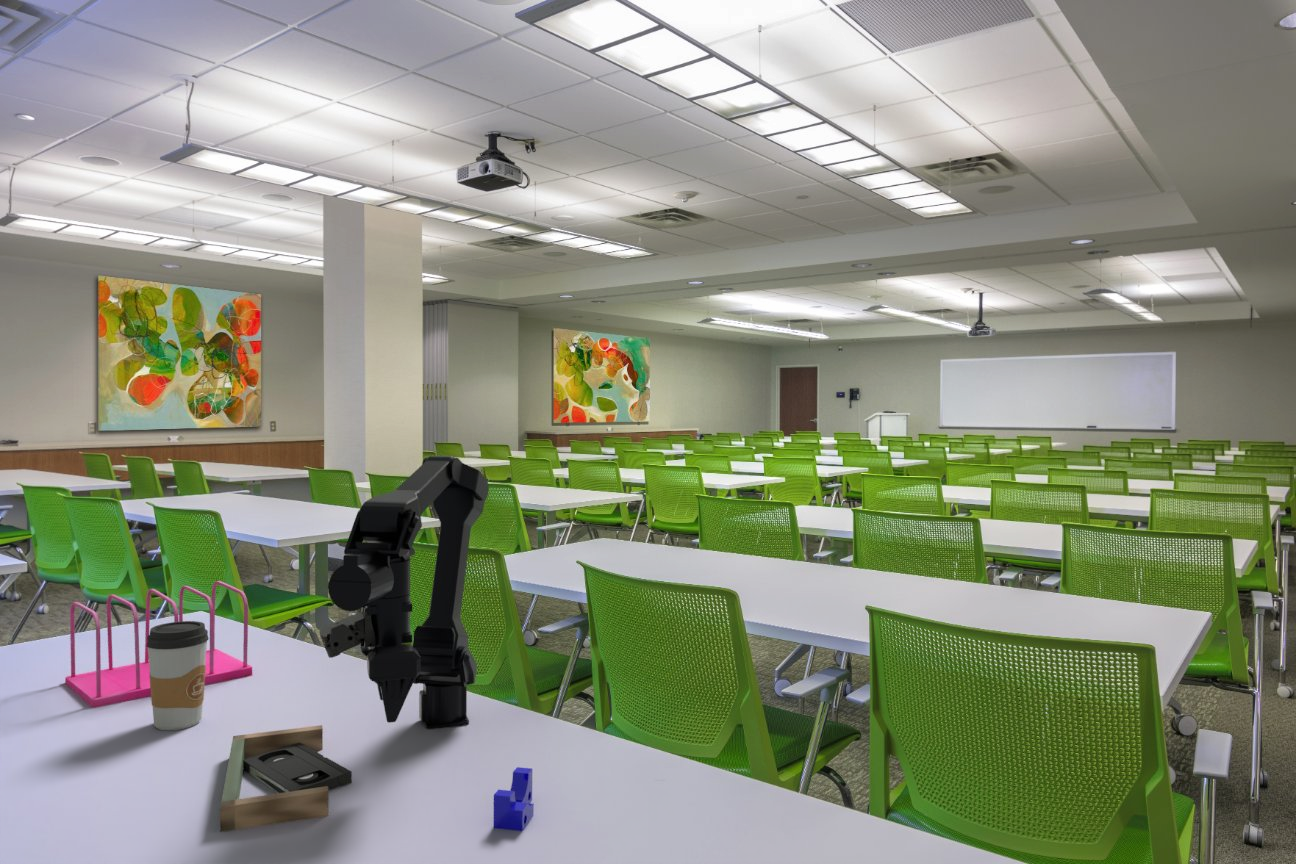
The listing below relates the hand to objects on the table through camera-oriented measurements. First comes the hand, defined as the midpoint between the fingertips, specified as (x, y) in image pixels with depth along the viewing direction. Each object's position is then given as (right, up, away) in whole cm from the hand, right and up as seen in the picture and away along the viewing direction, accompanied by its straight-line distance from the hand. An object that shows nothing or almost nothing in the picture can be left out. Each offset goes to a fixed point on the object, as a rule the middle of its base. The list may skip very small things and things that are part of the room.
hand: (387, 710), depth 116 cm
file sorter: (-51, -7, +37) cm, 63 cm away
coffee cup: (-37, -8, +16) cm, 40 cm away
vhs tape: (-11, -9, -2) cm, 14 cm away
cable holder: (+19, -9, -12) cm, 24 cm away
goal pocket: (-12, -8, -5) cm, 15 cm away
